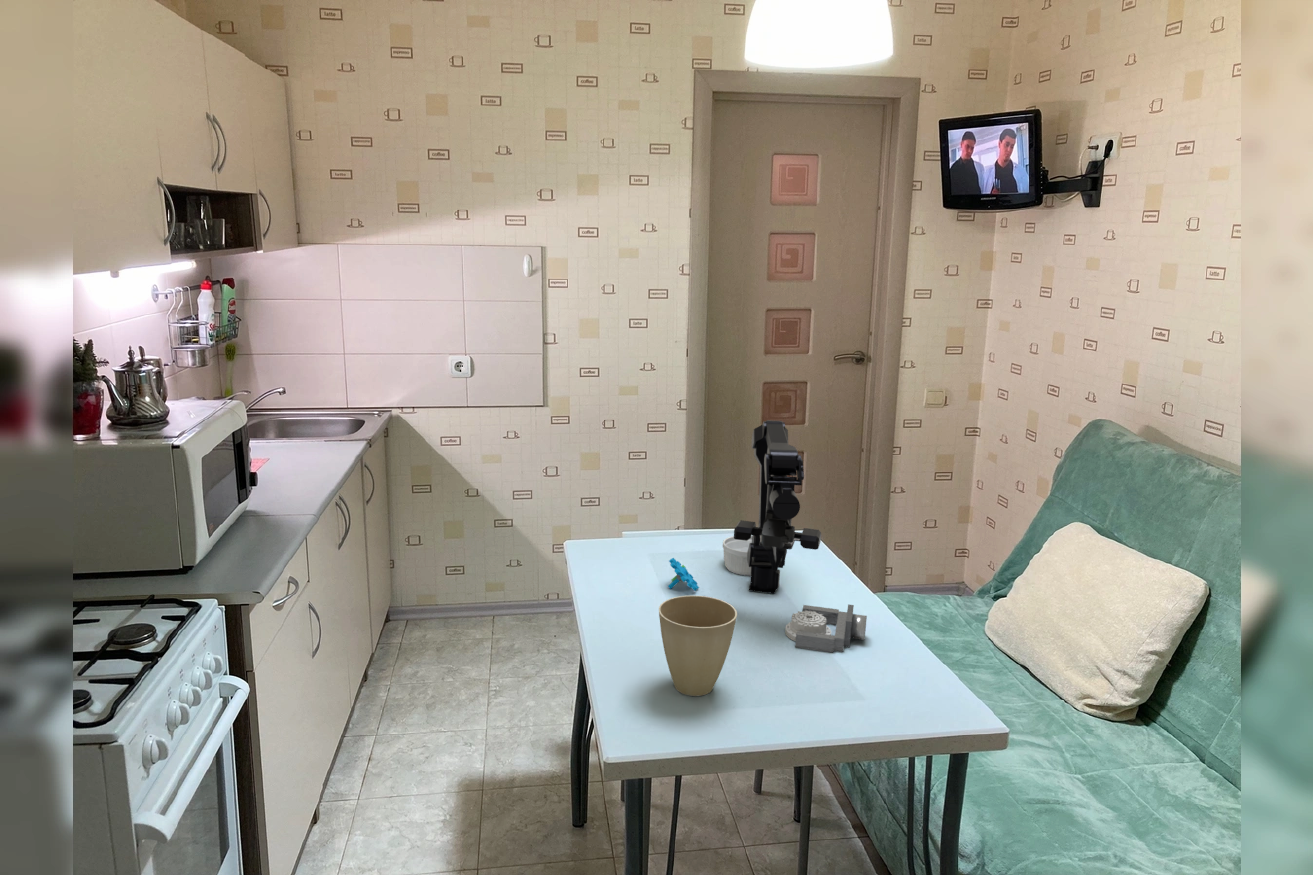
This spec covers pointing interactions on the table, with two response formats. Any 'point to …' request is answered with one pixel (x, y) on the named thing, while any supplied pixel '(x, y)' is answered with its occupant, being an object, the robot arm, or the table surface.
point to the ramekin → (736, 555)
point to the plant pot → (696, 640)
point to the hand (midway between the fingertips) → (775, 570)
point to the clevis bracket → (845, 630)
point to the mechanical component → (807, 624)
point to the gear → (682, 575)
